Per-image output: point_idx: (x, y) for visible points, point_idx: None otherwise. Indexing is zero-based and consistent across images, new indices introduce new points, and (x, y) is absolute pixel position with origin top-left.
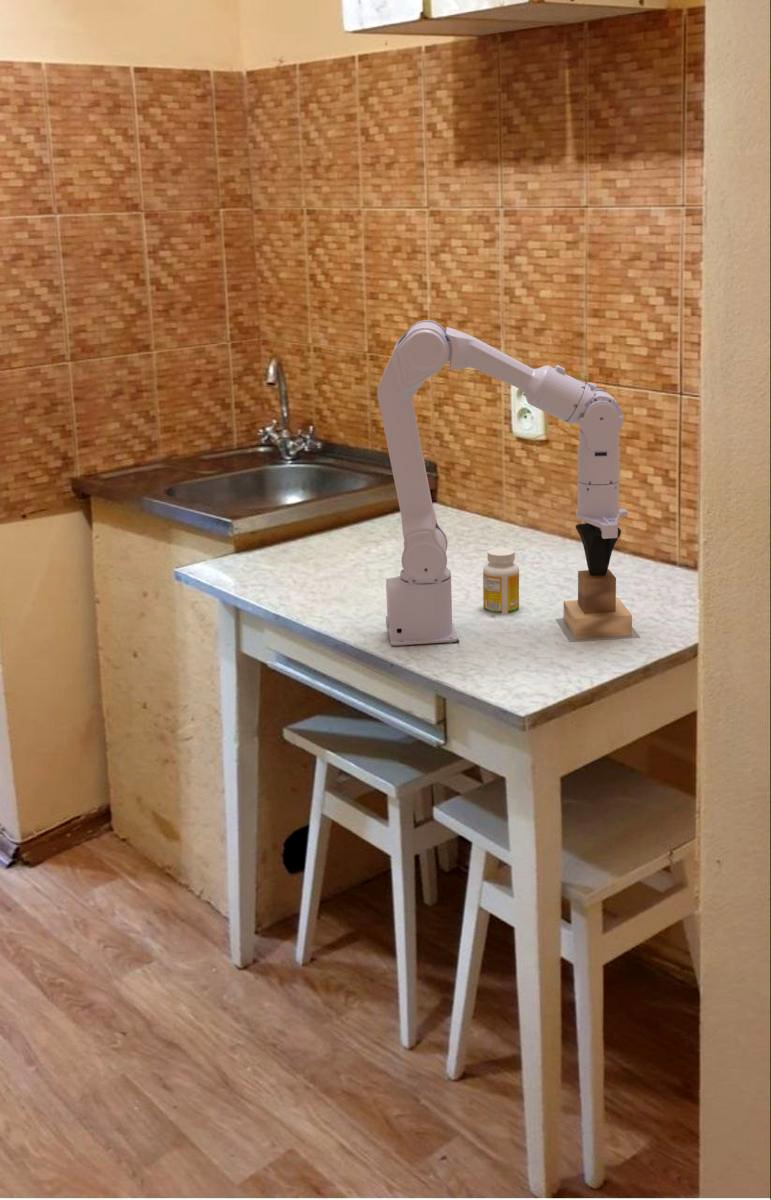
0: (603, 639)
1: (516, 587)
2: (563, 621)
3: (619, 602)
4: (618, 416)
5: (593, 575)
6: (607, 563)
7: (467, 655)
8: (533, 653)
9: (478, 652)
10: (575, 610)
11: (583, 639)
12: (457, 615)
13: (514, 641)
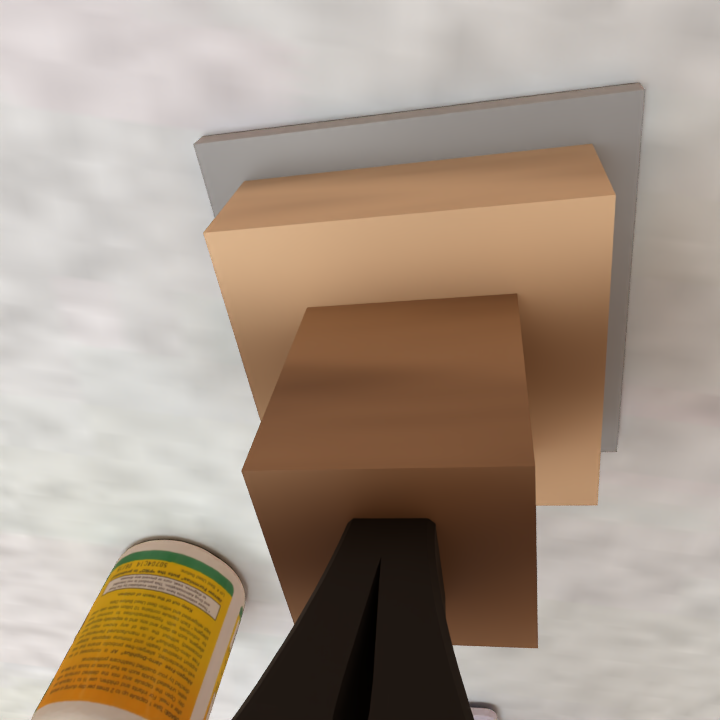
0: (625, 308)
1: (165, 652)
2: None
3: (309, 238)
4: None
5: (443, 594)
6: (441, 613)
7: (621, 701)
8: (664, 557)
9: (600, 678)
10: None
11: None
12: (225, 672)
13: None
